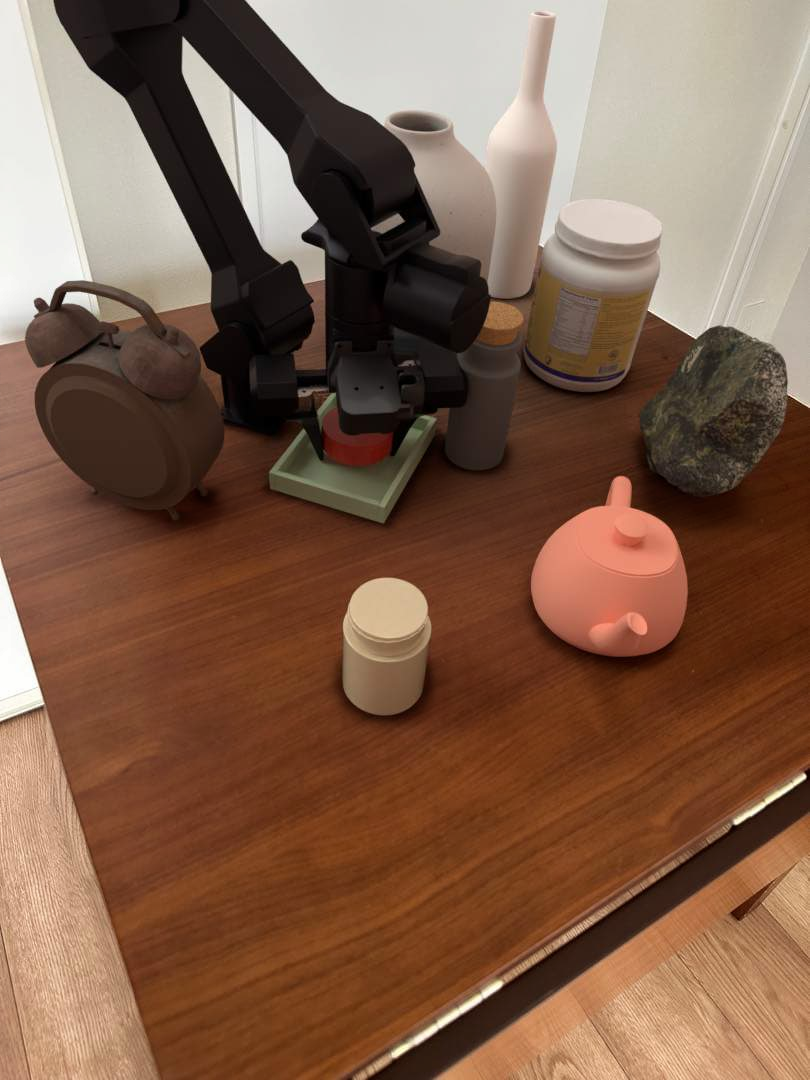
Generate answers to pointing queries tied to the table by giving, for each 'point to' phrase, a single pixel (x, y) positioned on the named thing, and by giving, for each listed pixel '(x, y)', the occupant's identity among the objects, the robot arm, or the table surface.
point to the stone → (716, 412)
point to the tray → (351, 472)
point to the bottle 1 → (487, 391)
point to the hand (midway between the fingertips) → (356, 455)
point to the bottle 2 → (522, 169)
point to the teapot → (612, 579)
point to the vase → (445, 198)
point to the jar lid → (353, 443)
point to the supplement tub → (592, 294)
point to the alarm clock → (124, 400)
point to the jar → (385, 646)
